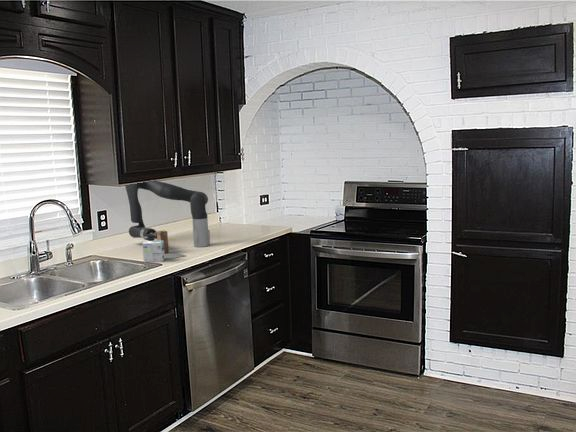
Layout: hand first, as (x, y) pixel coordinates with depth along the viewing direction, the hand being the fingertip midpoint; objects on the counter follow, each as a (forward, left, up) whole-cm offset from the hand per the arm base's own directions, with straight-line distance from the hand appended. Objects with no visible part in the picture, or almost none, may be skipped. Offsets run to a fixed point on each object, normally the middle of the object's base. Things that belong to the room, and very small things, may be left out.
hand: (160, 237), depth 331 cm
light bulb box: (+12, +16, -9) cm, 22 cm away
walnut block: (0, +2, -9) cm, 9 cm away
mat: (0, +12, -9) cm, 15 cm away
